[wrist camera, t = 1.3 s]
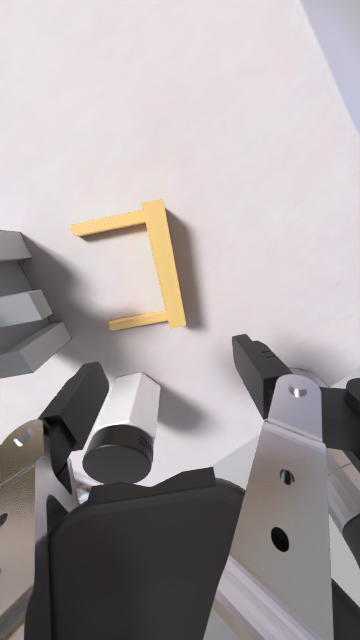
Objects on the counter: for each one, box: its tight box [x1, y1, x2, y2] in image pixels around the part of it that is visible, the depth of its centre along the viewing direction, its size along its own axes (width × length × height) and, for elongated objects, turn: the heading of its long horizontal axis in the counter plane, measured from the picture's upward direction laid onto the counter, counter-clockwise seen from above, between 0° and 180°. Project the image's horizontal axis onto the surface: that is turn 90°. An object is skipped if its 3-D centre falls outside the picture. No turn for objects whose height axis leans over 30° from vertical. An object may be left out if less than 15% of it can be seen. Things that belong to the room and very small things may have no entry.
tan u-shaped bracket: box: [70, 199, 186, 331], centre depth 22 cm, size 11×14×4 cm
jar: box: [82, 372, 160, 484], centre depth 26 cm, size 9×8×12 cm
